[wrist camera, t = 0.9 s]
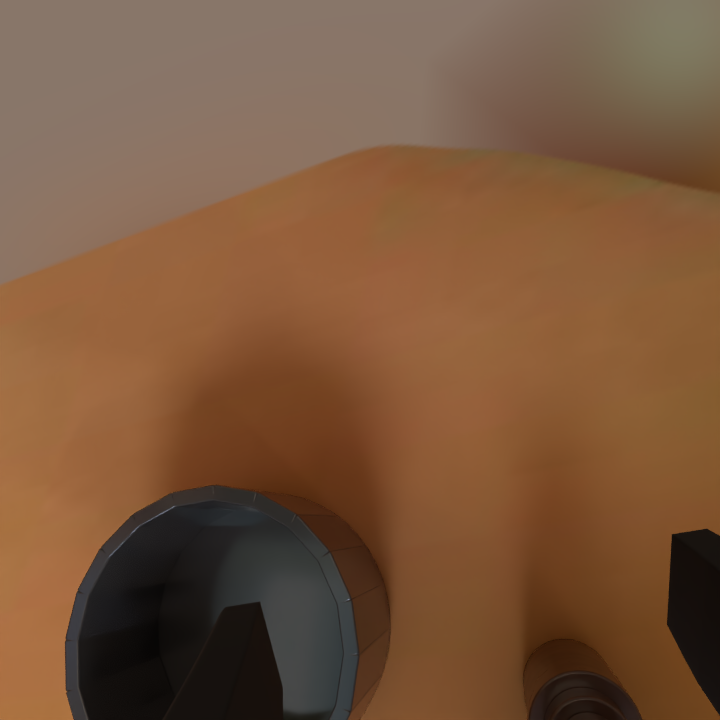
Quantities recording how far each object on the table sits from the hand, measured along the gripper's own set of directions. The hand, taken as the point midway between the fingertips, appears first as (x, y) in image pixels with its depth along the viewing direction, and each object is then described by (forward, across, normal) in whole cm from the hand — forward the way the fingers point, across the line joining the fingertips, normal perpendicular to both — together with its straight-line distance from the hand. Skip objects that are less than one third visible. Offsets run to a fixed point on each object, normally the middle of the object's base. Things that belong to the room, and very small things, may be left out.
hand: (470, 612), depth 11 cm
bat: (+7, -4, +11) cm, 14 cm away
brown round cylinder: (+11, +6, +10) cm, 16 cm away
